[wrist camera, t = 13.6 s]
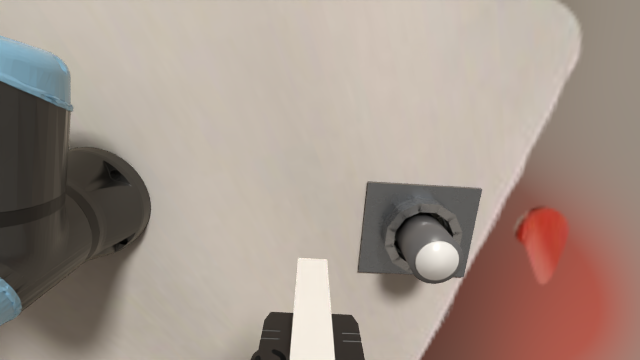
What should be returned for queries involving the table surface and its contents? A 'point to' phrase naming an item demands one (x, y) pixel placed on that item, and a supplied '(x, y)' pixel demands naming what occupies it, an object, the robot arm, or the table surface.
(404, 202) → the barrel mount
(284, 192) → the table surface
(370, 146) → the table surface
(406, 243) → the lens barrel
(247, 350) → the table surface
